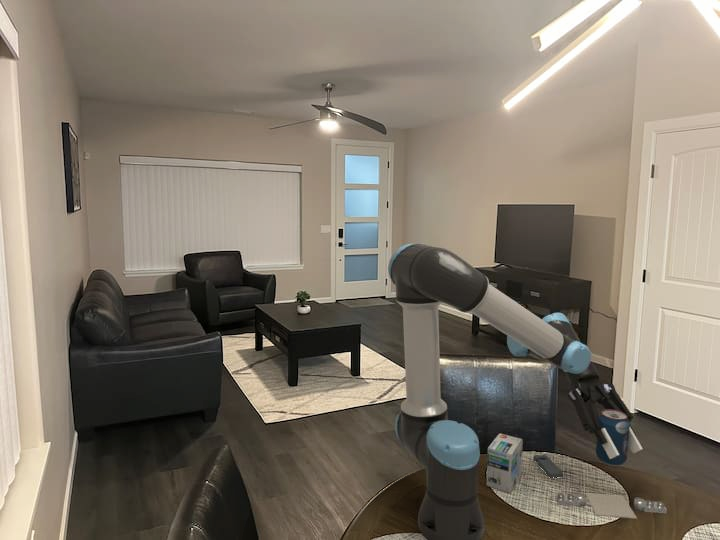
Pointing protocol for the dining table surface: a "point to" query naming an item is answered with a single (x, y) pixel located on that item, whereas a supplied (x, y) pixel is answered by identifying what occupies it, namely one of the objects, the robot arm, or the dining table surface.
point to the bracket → (548, 466)
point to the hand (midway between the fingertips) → (626, 453)
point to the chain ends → (611, 504)
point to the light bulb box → (504, 462)
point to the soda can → (614, 436)
